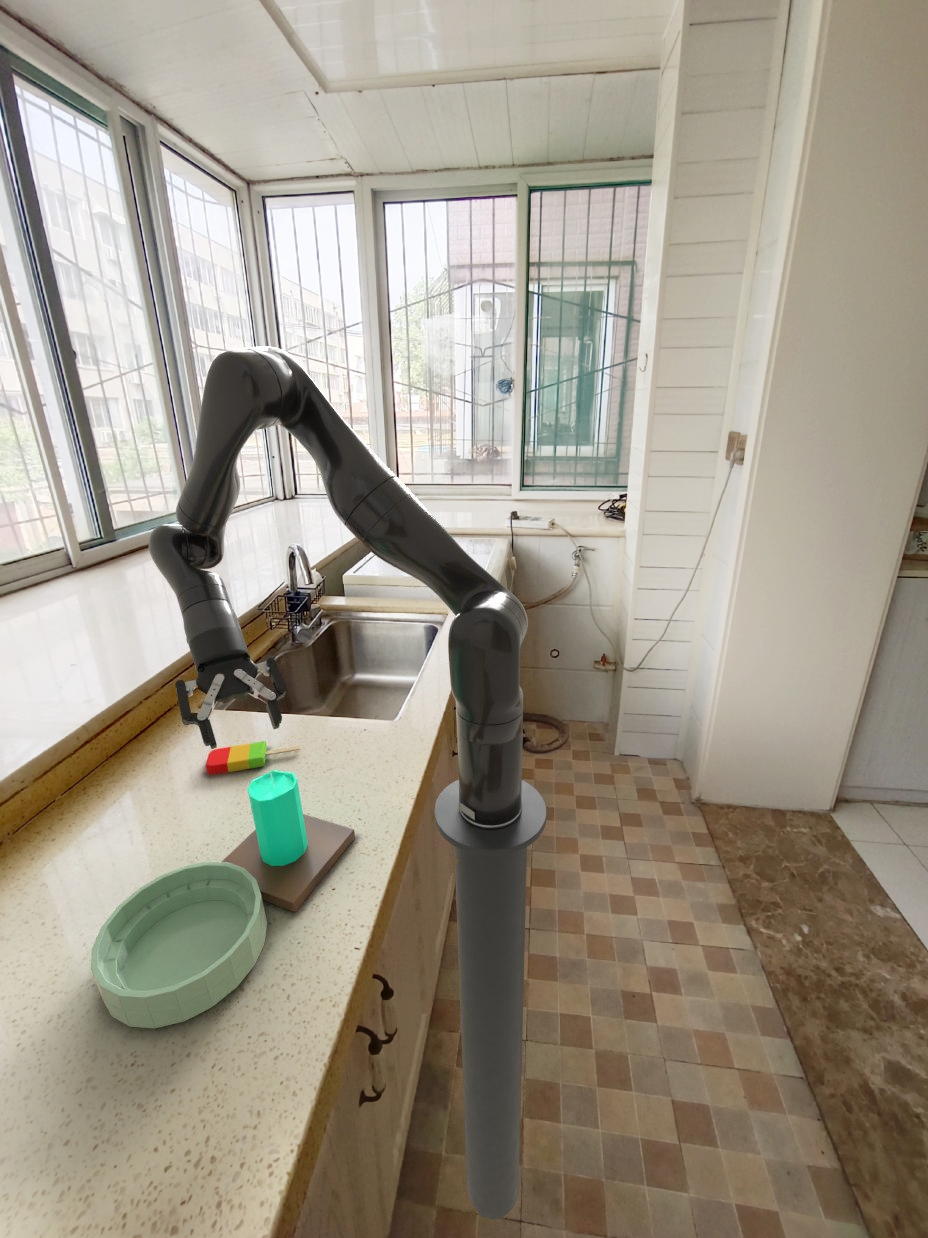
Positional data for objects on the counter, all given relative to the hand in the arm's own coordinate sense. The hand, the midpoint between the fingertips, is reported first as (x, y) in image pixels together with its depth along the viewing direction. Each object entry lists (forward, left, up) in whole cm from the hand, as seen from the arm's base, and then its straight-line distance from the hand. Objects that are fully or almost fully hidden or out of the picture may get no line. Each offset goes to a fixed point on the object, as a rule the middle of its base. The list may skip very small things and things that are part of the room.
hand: (246, 737), depth 76 cm
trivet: (+6, +10, -13) cm, 17 cm away
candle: (+6, +10, -12) cm, 16 cm away
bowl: (+21, +9, -13) cm, 26 cm away
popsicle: (-10, -10, -13) cm, 19 cm away
